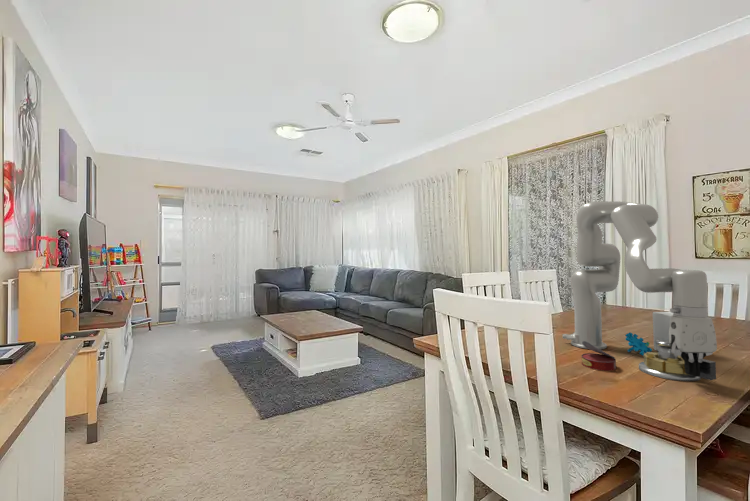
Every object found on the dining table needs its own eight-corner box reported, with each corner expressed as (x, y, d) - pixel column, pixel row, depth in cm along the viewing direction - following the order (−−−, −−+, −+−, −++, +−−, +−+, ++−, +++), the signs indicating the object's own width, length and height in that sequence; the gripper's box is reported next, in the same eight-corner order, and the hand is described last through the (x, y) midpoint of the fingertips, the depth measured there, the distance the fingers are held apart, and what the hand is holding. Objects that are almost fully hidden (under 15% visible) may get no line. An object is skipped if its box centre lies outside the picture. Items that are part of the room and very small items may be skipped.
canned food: (583, 374, 120) (579, 346, 125) (617, 376, 115) (612, 347, 120) (581, 368, 112) (577, 338, 116) (618, 369, 107) (612, 338, 111)
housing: (647, 377, 104) (646, 345, 104) (633, 362, 118) (632, 334, 118) (711, 384, 98) (710, 350, 98) (688, 367, 112) (687, 338, 112)
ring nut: (636, 363, 112) (635, 348, 112) (660, 359, 115) (660, 345, 115) (699, 382, 95) (699, 364, 95) (726, 377, 99) (726, 360, 99)
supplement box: (697, 356, 124) (696, 315, 124) (672, 356, 124) (671, 315, 124) (675, 349, 133) (674, 311, 133) (652, 349, 133) (651, 311, 133)
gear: (641, 354, 122) (622, 330, 129) (628, 362, 125) (610, 339, 132) (661, 355, 125) (642, 332, 132) (648, 363, 129) (630, 340, 136)
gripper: (674, 314, 96) (676, 379, 95) (729, 314, 95) (732, 379, 94) (653, 310, 103) (655, 370, 103) (705, 309, 102) (707, 370, 102)
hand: (692, 374), depth 99 cm, fingers closed
